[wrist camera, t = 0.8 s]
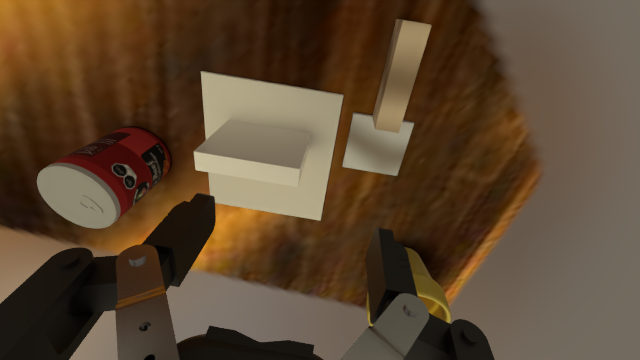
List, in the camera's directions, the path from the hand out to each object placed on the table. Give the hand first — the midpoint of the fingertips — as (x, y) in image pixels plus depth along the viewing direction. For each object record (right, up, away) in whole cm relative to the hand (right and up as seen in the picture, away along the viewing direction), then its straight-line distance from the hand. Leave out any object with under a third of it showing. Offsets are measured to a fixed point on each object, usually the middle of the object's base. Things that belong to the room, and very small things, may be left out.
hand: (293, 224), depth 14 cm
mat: (-5, +6, +23) cm, 24 cm away
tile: (-5, +8, +21) cm, 22 cm away
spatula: (+9, +11, +18) cm, 23 cm away
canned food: (-22, +6, +24) cm, 34 cm away
